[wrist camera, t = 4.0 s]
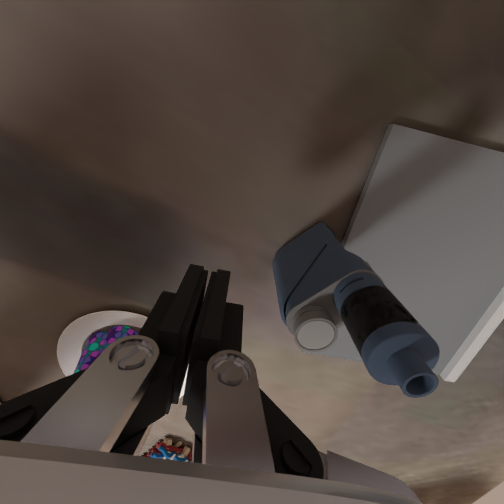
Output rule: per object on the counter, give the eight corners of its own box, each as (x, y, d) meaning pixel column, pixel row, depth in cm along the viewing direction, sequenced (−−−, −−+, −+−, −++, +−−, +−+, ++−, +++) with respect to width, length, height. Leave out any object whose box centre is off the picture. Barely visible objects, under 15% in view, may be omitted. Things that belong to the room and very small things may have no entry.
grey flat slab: (445, 371, 24) (454, 382, 23) (301, 346, 23) (303, 357, 22) (587, 176, 17) (610, 178, 16) (388, 124, 16) (399, 123, 14)
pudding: (56, 384, 25) (10, 443, 20) (69, 286, 20) (14, 331, 16) (177, 414, 27) (161, 474, 22) (213, 330, 22) (203, 382, 18)
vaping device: (344, 242, 19) (477, 391, 8) (284, 280, 20) (326, 455, 9) (326, 214, 18) (445, 338, 7) (265, 256, 19) (284, 417, 8)
